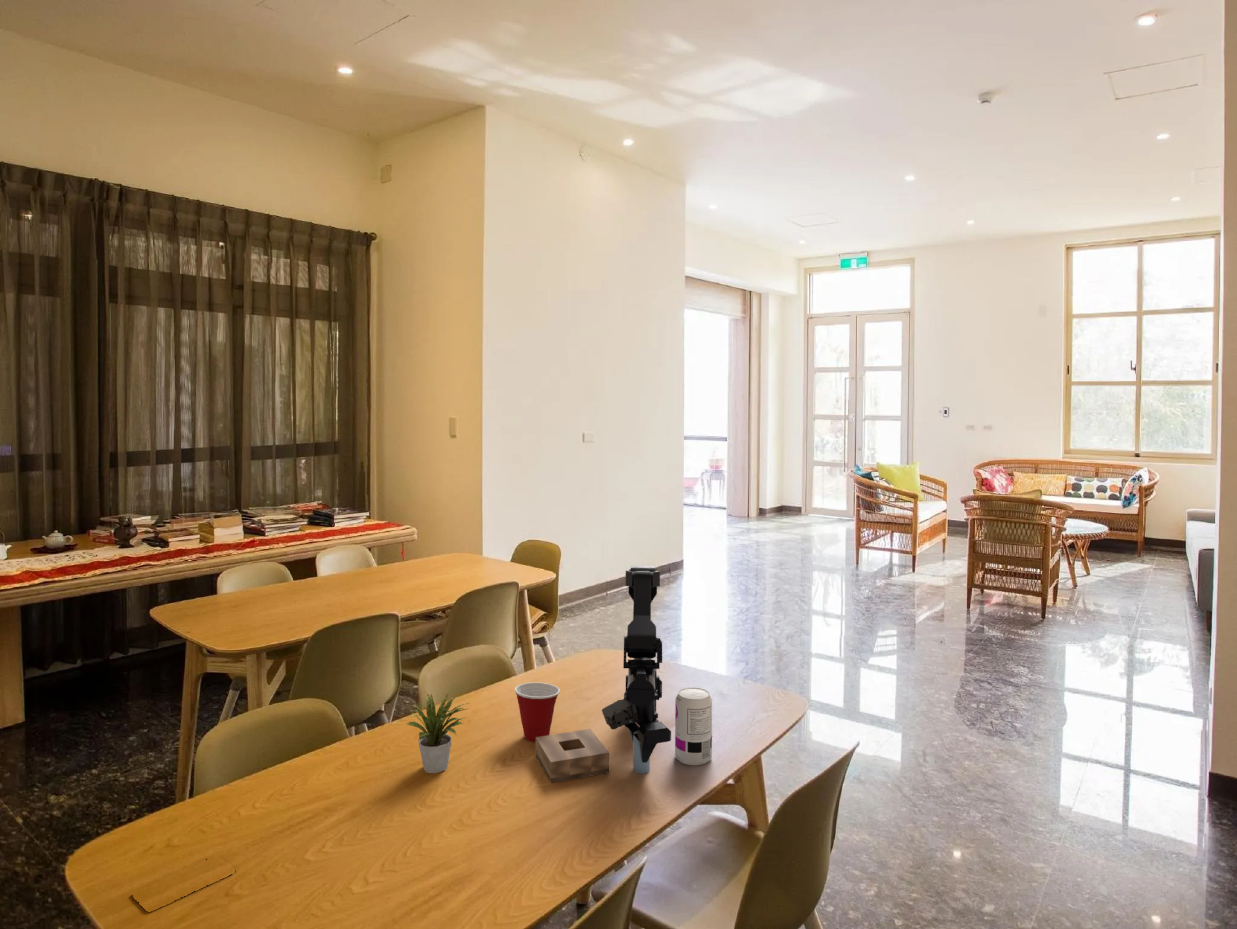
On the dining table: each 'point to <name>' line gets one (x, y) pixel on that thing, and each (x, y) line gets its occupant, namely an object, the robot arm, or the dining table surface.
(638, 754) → the pin
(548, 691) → the plastic cup
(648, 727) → the robot arm
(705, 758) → the supplement can
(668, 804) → the dining table surface
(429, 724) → the house plant
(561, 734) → the bore block
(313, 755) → the dining table surface
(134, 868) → the dining table surface
